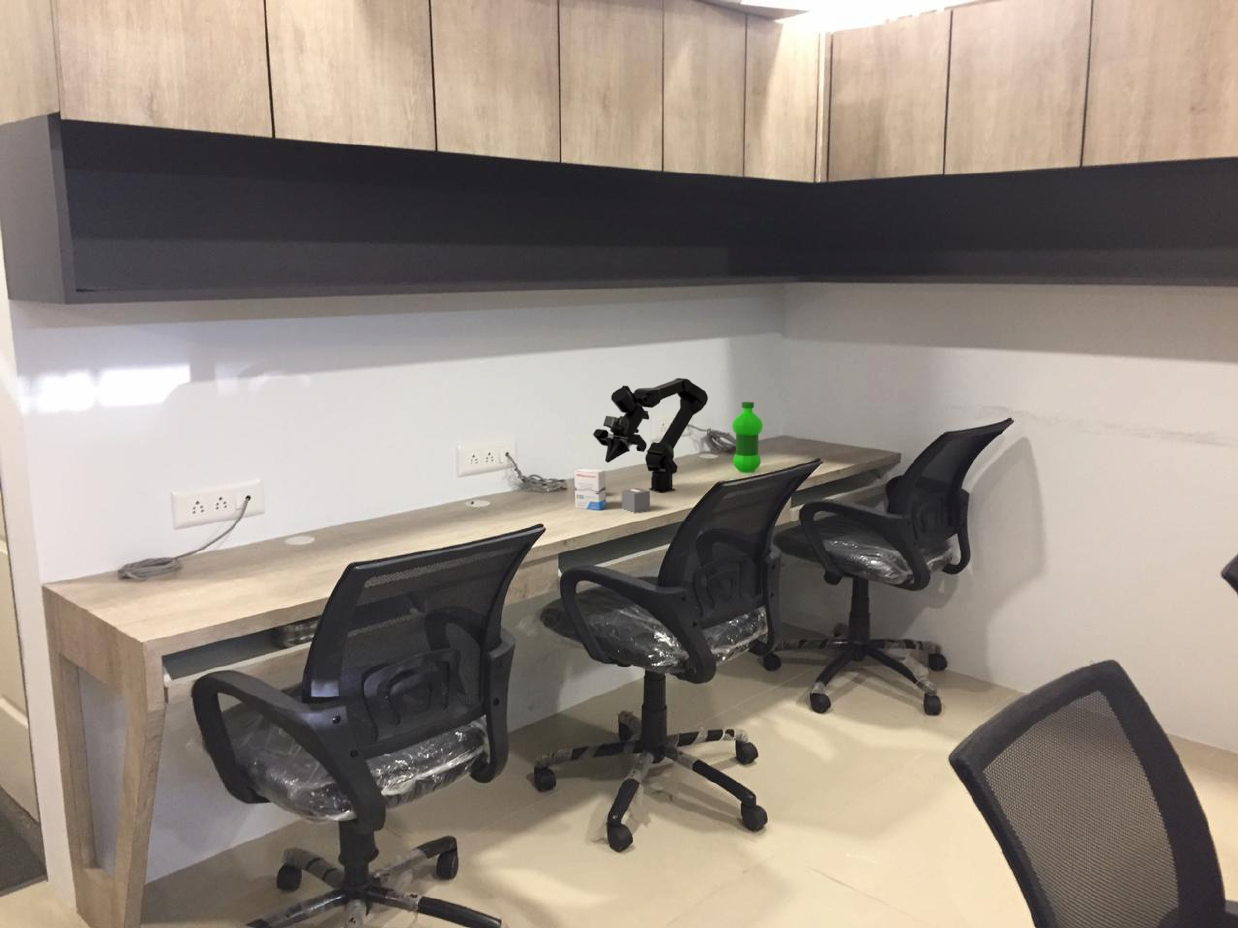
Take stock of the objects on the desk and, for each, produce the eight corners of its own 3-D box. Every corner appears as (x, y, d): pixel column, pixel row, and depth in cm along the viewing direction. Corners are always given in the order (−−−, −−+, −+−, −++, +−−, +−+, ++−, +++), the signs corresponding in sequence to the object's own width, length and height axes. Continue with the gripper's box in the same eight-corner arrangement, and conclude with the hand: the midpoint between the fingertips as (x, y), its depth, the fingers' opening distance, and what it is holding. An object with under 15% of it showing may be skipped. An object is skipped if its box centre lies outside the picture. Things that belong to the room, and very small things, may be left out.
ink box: (606, 507, 302) (606, 469, 300) (598, 511, 298) (598, 472, 296) (582, 504, 306) (581, 467, 304) (574, 508, 302) (573, 470, 300)
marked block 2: (637, 507, 303) (637, 487, 302) (649, 510, 298) (649, 490, 297) (621, 509, 299) (621, 490, 298) (634, 513, 295) (634, 493, 294)
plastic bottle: (761, 474, 351) (763, 404, 346) (731, 473, 352) (732, 404, 347) (761, 468, 360) (762, 400, 356) (731, 468, 362) (733, 400, 357)
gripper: (596, 403, 311) (572, 442, 306) (640, 408, 299) (615, 449, 293) (614, 425, 319) (590, 463, 313) (657, 431, 306) (633, 471, 300)
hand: (606, 461), depth 305 cm, fingers closed
